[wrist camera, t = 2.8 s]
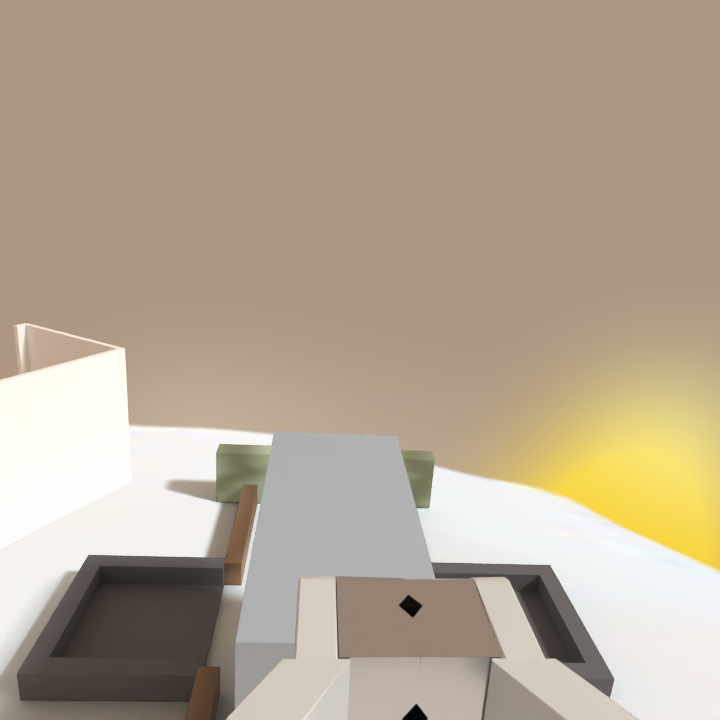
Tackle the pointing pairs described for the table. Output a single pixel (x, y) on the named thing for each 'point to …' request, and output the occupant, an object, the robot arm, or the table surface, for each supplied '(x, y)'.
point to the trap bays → (197, 620)
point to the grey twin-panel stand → (60, 428)
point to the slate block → (323, 535)
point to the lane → (245, 485)
